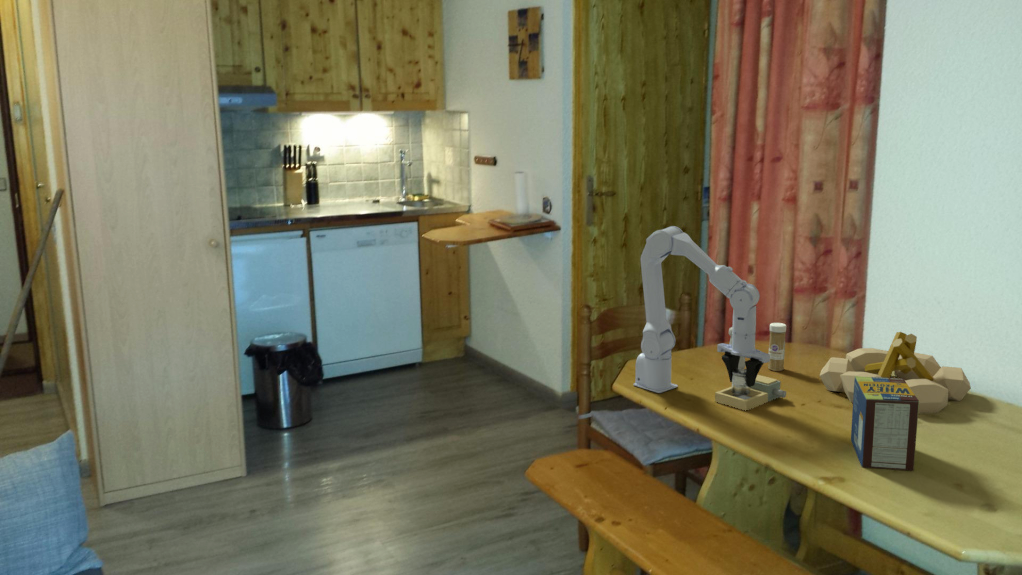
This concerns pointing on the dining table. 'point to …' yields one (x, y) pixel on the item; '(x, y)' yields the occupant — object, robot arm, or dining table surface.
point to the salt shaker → (742, 359)
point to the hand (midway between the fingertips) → (742, 383)
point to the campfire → (899, 373)
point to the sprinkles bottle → (777, 346)
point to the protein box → (884, 423)
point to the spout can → (740, 382)
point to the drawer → (752, 394)
